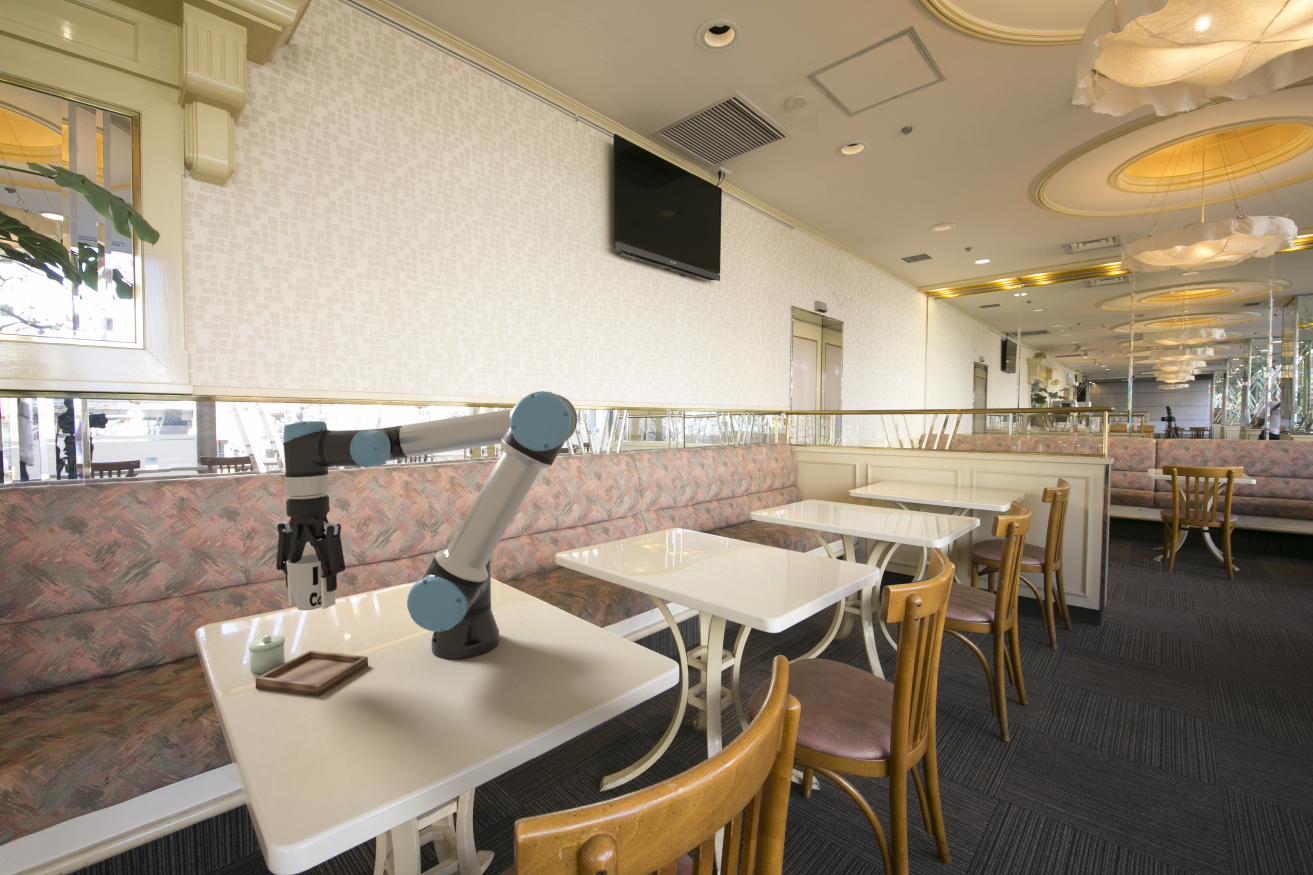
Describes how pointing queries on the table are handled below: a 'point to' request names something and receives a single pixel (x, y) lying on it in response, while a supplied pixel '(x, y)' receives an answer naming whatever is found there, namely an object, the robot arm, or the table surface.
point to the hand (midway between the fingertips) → (312, 604)
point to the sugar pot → (266, 654)
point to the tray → (312, 673)
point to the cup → (306, 582)
